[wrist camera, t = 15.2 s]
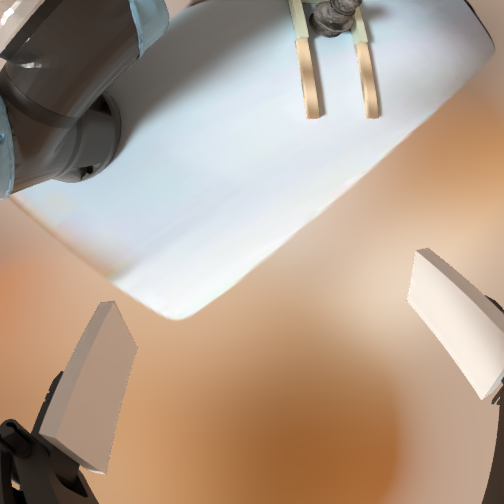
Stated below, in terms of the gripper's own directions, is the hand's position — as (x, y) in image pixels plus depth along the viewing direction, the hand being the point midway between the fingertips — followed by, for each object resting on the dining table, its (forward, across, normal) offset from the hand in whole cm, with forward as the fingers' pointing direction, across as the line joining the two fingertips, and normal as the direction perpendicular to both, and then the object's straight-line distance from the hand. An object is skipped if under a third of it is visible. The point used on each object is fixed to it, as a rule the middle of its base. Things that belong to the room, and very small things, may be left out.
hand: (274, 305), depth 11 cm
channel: (+30, +16, +13) cm, 37 cm away
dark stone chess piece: (+31, +16, +23) cm, 42 cm away
